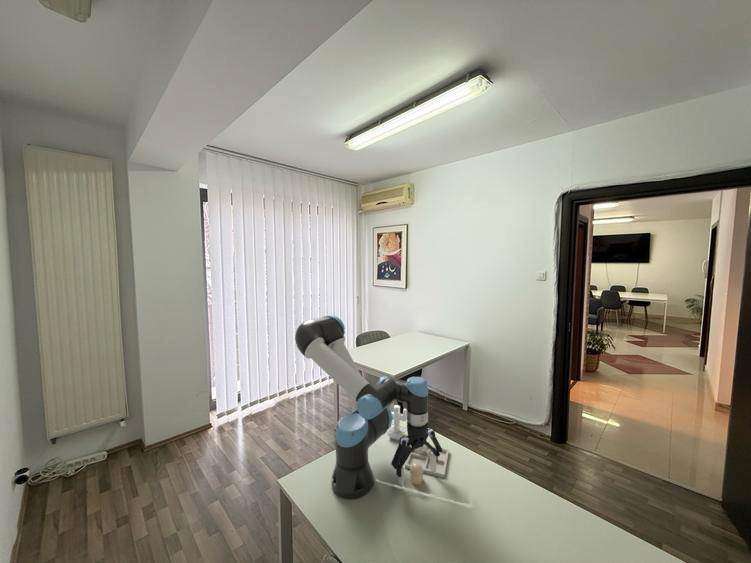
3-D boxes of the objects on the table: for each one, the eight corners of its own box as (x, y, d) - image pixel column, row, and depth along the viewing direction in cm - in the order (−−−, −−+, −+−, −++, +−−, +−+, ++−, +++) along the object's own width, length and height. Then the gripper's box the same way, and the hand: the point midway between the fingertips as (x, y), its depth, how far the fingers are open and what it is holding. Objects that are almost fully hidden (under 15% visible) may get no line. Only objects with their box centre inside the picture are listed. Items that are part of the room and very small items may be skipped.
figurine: (390, 431, 138) (389, 400, 137) (409, 435, 135) (409, 404, 133) (384, 439, 132) (384, 407, 131) (404, 445, 128) (404, 412, 127)
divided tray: (404, 469, 113) (404, 465, 113) (413, 446, 127) (413, 441, 127) (444, 479, 108) (444, 474, 108) (448, 454, 122) (448, 449, 122)
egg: (408, 485, 106) (408, 467, 105) (411, 476, 110) (411, 458, 109) (421, 488, 104) (421, 470, 103) (423, 479, 108) (424, 461, 108)
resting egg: (414, 454, 121) (414, 439, 120) (416, 447, 125) (416, 432, 124) (425, 457, 119) (425, 441, 118) (427, 450, 123) (427, 434, 123)
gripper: (391, 436, 96) (392, 497, 97) (452, 417, 107) (451, 472, 109) (381, 425, 103) (382, 482, 104) (439, 408, 114) (439, 460, 115)
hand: (417, 477), depth 106 cm, fingers open, 13 cm apart
